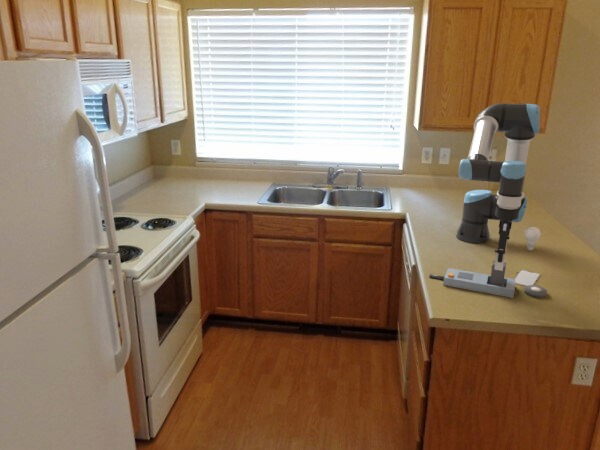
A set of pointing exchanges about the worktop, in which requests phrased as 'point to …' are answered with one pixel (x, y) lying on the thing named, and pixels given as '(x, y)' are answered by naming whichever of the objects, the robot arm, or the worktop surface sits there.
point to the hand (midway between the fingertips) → (499, 262)
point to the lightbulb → (532, 237)
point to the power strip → (476, 282)
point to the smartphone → (526, 278)
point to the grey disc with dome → (535, 291)
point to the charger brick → (497, 275)
